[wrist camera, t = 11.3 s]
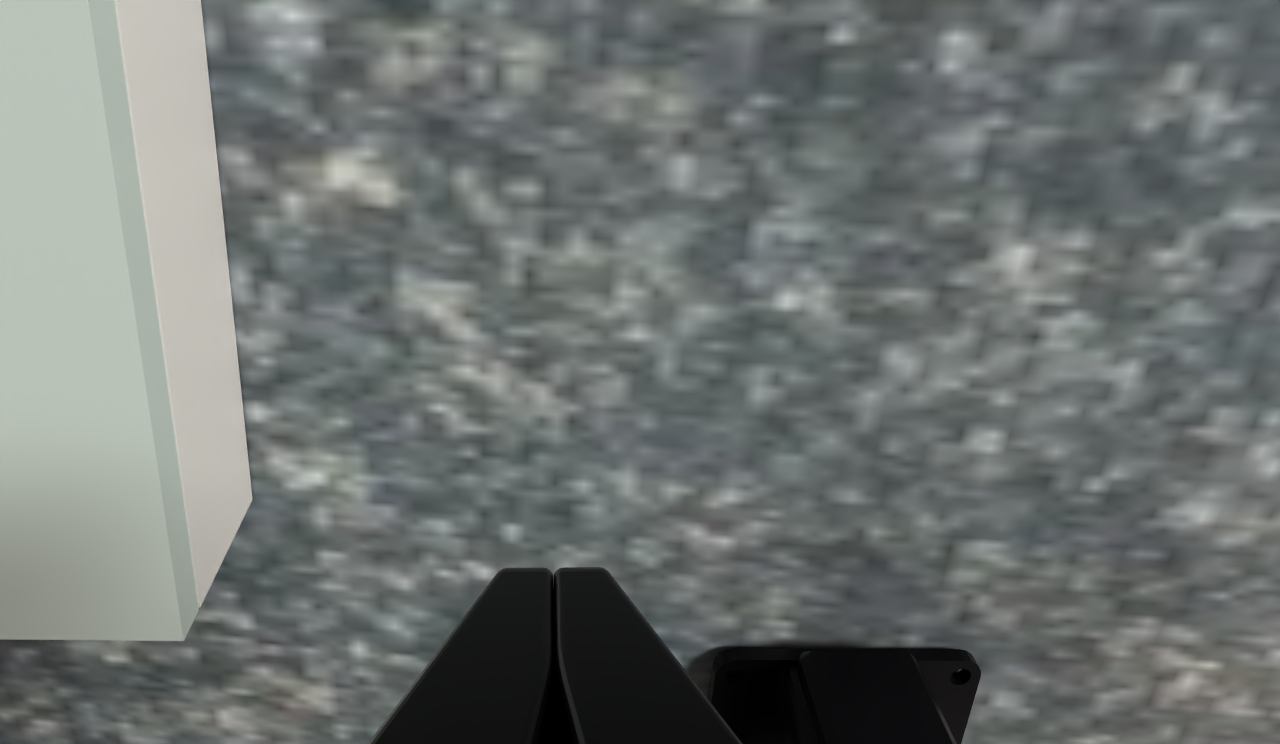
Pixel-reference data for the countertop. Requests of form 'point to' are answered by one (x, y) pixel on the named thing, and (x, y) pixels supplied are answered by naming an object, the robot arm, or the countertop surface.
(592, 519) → the countertop surface
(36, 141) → the lid
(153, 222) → the cable duct
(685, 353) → the countertop surface
